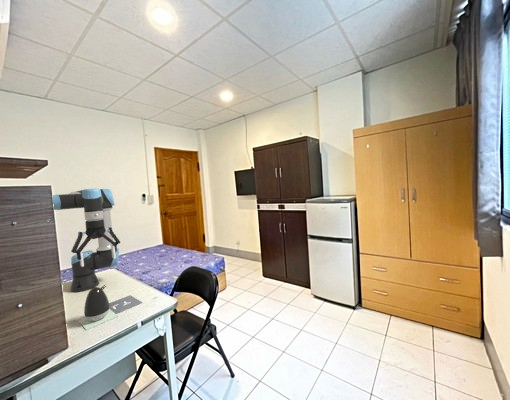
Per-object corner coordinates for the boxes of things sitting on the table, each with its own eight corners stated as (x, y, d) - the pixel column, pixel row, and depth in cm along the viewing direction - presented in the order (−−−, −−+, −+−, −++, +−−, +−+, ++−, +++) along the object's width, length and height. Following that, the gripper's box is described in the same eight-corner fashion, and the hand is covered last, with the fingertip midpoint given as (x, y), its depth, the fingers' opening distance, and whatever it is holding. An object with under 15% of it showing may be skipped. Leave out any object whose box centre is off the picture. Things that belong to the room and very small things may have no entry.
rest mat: (78, 320, 110) (78, 320, 110) (108, 308, 120) (108, 308, 120) (86, 330, 102) (86, 329, 102) (118, 316, 112) (118, 315, 112)
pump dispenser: (115, 313, 114) (112, 283, 114) (95, 325, 105) (91, 293, 104) (101, 311, 118) (98, 282, 117) (79, 322, 108) (76, 291, 107)
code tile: (99, 307, 122) (98, 307, 122) (130, 295, 135) (130, 295, 135) (109, 316, 112) (109, 316, 112) (142, 302, 125) (142, 302, 125)
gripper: (63, 224, 101) (69, 271, 102) (124, 216, 120) (128, 256, 121) (60, 223, 105) (65, 268, 107) (119, 216, 124) (123, 253, 126)
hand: (98, 261), depth 114 cm, fingers open, 13 cm apart
